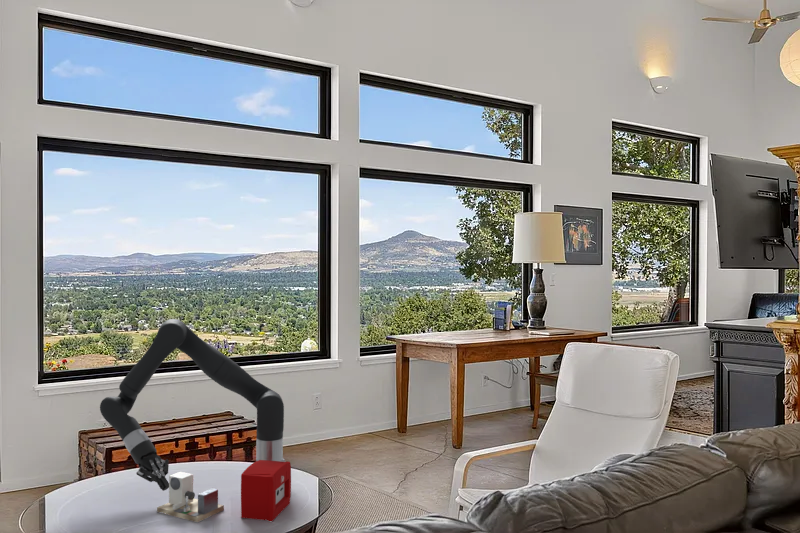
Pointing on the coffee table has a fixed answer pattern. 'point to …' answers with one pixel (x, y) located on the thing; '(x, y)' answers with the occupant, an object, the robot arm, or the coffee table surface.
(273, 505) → the fire alarm
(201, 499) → the grey metal square plate
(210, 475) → the coffee table surface
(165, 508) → the gauge stand
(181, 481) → the block
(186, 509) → the grey metal lever
